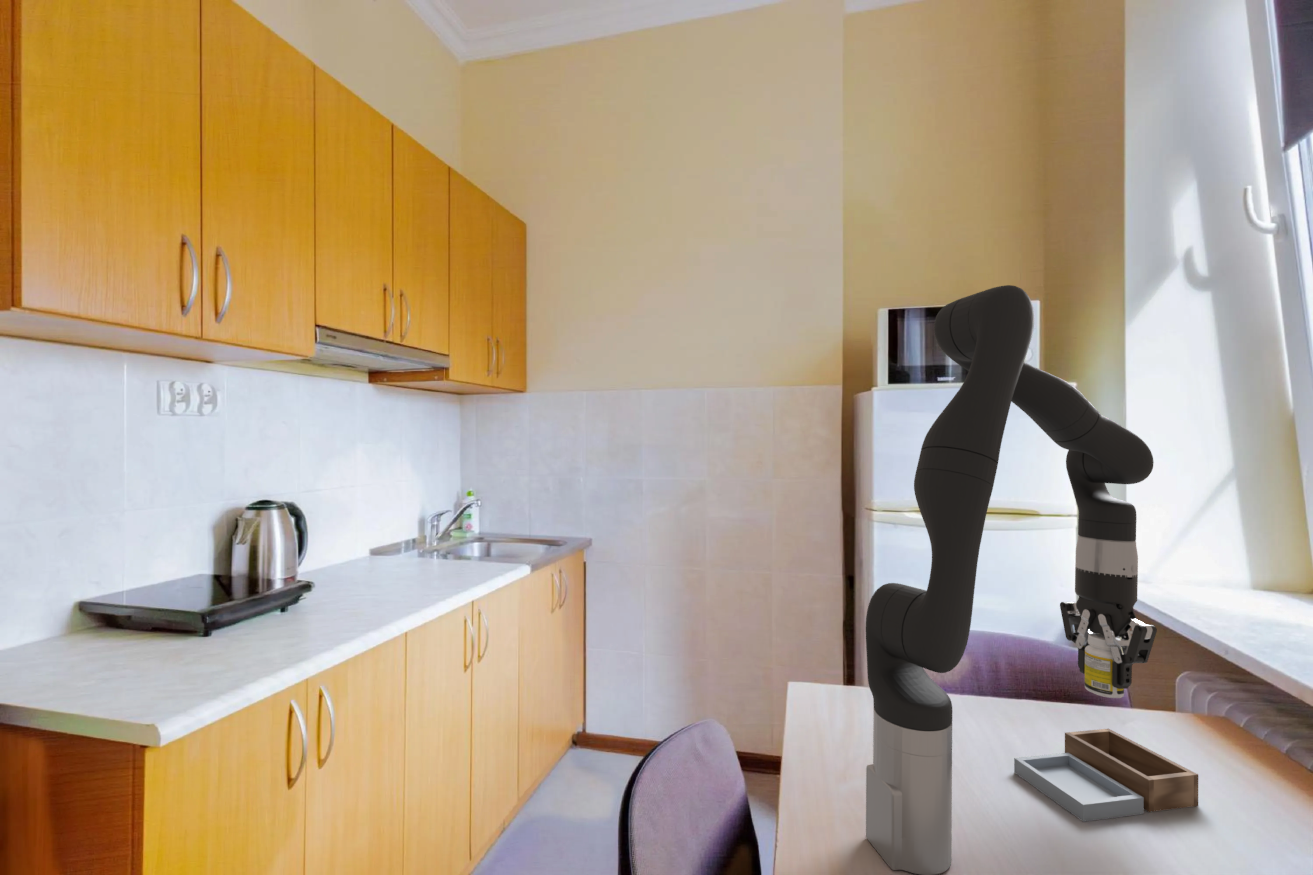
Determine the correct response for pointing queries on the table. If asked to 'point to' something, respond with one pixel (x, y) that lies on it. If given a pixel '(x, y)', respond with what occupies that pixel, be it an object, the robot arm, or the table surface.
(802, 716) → the table surface
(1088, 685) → the supplement bottle
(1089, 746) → the caddy
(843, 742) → the table surface
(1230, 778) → the table surface
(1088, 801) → the tray
